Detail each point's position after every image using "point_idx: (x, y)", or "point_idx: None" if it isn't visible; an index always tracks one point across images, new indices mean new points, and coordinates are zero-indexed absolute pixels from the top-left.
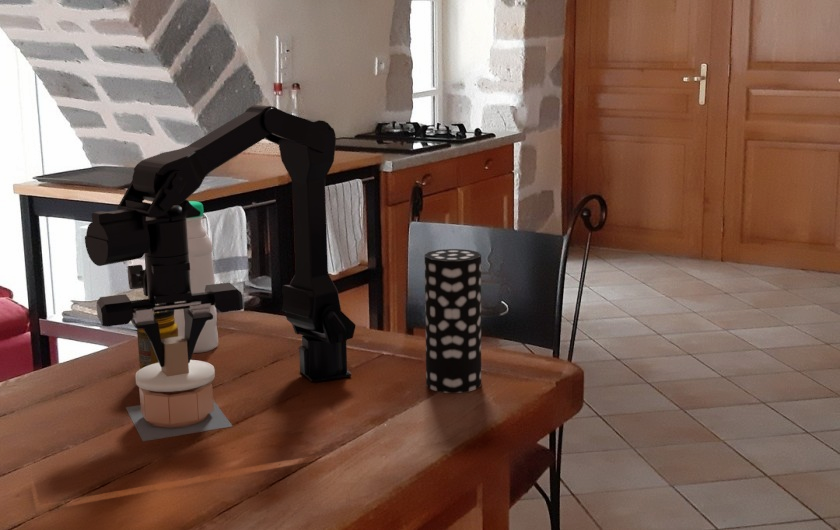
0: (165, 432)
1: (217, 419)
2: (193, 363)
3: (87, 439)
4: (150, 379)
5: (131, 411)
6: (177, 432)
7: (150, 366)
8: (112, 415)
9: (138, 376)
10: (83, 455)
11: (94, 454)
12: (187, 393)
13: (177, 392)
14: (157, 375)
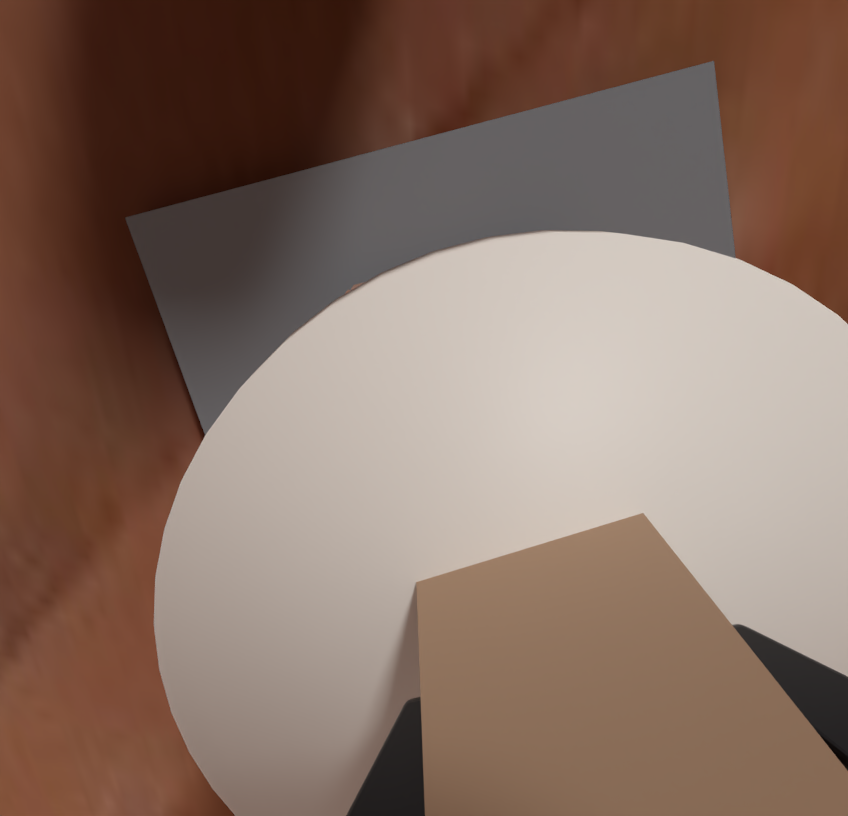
0: None
1: None
2: (768, 415)
3: (21, 625)
4: (331, 807)
5: (184, 312)
6: None
7: (277, 423)
8: (63, 276)
9: (200, 715)
10: (63, 800)
11: (112, 797)
12: None
13: None
14: (387, 718)
